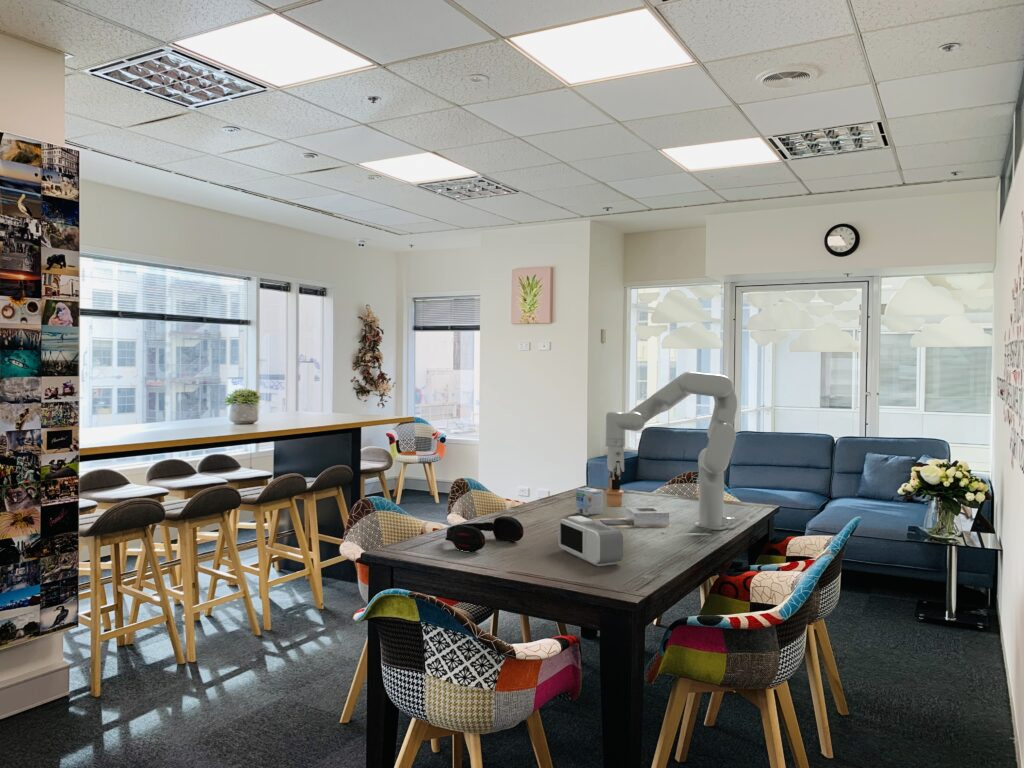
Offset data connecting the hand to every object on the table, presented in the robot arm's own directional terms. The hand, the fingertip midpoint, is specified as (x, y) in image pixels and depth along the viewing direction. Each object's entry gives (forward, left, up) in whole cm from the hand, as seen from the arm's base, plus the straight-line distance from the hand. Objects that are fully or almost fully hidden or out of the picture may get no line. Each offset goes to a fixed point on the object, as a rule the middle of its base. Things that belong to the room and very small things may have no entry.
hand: (614, 488), depth 309 cm
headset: (+54, +32, -15) cm, 64 cm away
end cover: (0, 0, -7) cm, 7 cm away
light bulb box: (+5, -25, -15) cm, 29 cm away
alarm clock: (+21, +52, -15) cm, 58 cm away
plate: (-7, 0, -15) cm, 16 cm away
